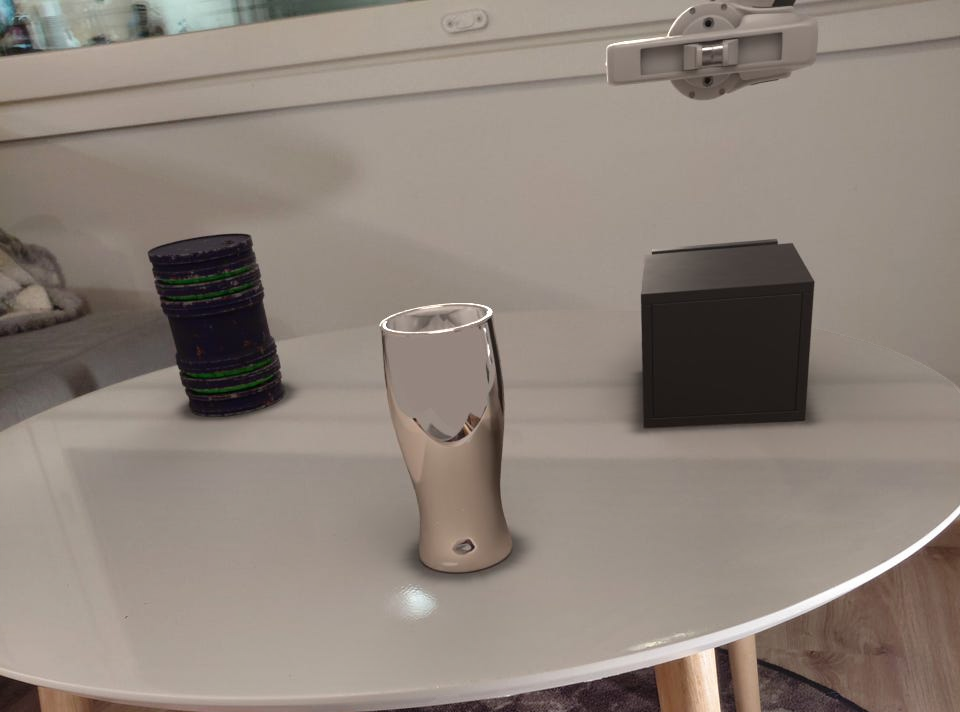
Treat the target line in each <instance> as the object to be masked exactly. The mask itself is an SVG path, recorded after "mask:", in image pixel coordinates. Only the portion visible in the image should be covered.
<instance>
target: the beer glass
mask: <svg viewBox="0 0 960 712" xmlns="http://www.w3.org/2000/svg"><path fill="white" fill-rule="evenodd" d="M379 329H380V338H381V350H382V362H383V363H382V364H383V375H384V383H385V390H386V399H387V403H388V408H389V414H390V418H391V422H392V425H393V426H392V427H393V429H394V432H395V437H396V439H397V443H398V446H399V449H400V451H401V454H402V458H403V460H404V463H405V466H406V469H407V471H408V474H409V477H410V480H411V483H412V488H413V490H414V493H415V498H416V501H417V507H418V515H419V537H418V539H419V542H418V553H419V558H420V560H421V562H422V563H423V564H424V565H425V566H427V567H428V568H430V569H432V570H435V571H438V572H444V573H456V574H458V573H469V572H470V573H471V572H476V571H480V570H484V569H487V568H490V567H492V566H495V565H497V564H498V563H501V562H502V561H503V560H504V559H506V557H508V556H509V554H510V553H511V551H512V549H513V548H512V547H513V541H512V536H511V533H510V529H509V526H508V523H507V520H506V517H505V513H504V508H503V502H502V495H501V494H502V493H501V490H502V489H501V476H502V461H503V450H504V435H505V414H506V413H505V411H506V409H505V408H506V405H505V404H506V403H505V402H506V401H505V387H504V377H503V369H502V361H501V355H500V350H499V344H498V339H497V338H498V337H497V333H496V327H495V322H494V312H493V310H492V308H490V307H489V306H486V305H482V304H477V303H463V302H462V303H458V302H457V303H442V304H433V305H426V306H420V307H415V308H411V309H407V310H404V311H401V312H397V313H395V314H392V315H390V316H388V317H387V318H385V319H383V320H382V321H381V322H380V324H379Z"/></svg>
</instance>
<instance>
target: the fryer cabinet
mask: <svg viewBox="0 0 960 712" xmlns="http://www.w3.org/2000/svg"><path fill="white" fill-rule="evenodd" d="M803 260H804V259H802V257H801V255H800V253H799V252H798V249H797V248H796V247H795V244H794V243H793V242H787V243H778V244H774V245H761V246H749V247H737V248H725V249H713V250H701V251H688V252H676V253H664V254H652V253H651V254H644V255H643V263H642V275H641V286H640V319H641V321H640V325H641V327H640V328H641V369H642V370H641V371H642V373H641V375H642V414H643V415H642V417H643V423H642V424H643V429H653V428H654V429H655V428H674V427H694V426H695V427H696V426H713V425H715V426H717V425H736V424H756V423H757V424H758V423H777V422H779V423H780V422H799V421H806V411H807V410H806V409H807V397H808V384H809V382H808V381H809V371H810V370H809V369H810V353H811V340H812V324H813V313H814V312H813V311H814V297H815V293H814V292H815V283H816V282H815V280H814V278H813V276H812V275H811V273H810V271H809V269H808V267H807V265H806V263H805V262H804V261H803Z"/></svg>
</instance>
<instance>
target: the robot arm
mask: <svg viewBox="0 0 960 712" xmlns="http://www.w3.org/2000/svg"><path fill="white" fill-rule="evenodd" d="M796 1H797V0H707V1H704V2H700V3H697V4H694V5H693V6H690V7H688V8H687V9H686V10H684V11H683V12H682V13H681V14H679V16H678V17H677V18H676V19H675V20H674V22H673V23H672V25H671V27H670V28H669V31H668V33H667V35H666V36H659V37H650V38H642V39H635V40H626V41H620V42H616V43H612V44H609V45H608V46H606V50H605V51H606V54H605V58H606V62H605V67H606V79H607V80H606V81H607V84H608V85H609V86H612V87H621V86H629V85H630V86H631V85H639V84H648V83H657V82H666V81H670V83H671V84H672V86H673V87H674V89H675V90H677V91H678V92H679V93H680V94H681V95H683V96H685V97H686V98H689V99H691V100H694V101H709V100H710V101H711V100H715V99H717V98H720V97H722V96H724V95H726V94H732V93H734V92H736V91H739V90H740V89H743V88H745V87H746V88H747V87H749V86H755V85H758V84H764V83H769V82H776V81H779V80H783V79H788V78H790V77H791V76H792V72H794V71H798V70H802V69H805V68H807V67H811V66H813V65H814V64H815V62H816V61H817V55H818V54H817V53H818V42H819V22H818V19H816V18H815V17H813V16H810V15H808V14H805V13H798V12H797V13H796V11H795V10H796V8H795V6H794V5H795V3H796Z"/></svg>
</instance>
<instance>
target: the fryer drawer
mask: <svg viewBox="0 0 960 712" xmlns="http://www.w3.org/2000/svg"><path fill="white" fill-rule="evenodd" d="M774 244H779V241H778V239H777V238H771V239H769V238H768V239H758V240H757V239H756V240H744V241H732V242H723V243H722V242H721V243H712V244H709V243H708V244H697V245H696V244H695V245H687V246H686V245H684V246H674V247H673V246H672V247H663V248H652V249H651V255H652V254H664V253H676V252H688V251H701V250H713V249H725V248H737V247H749V246H761V245H774Z"/></svg>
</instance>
